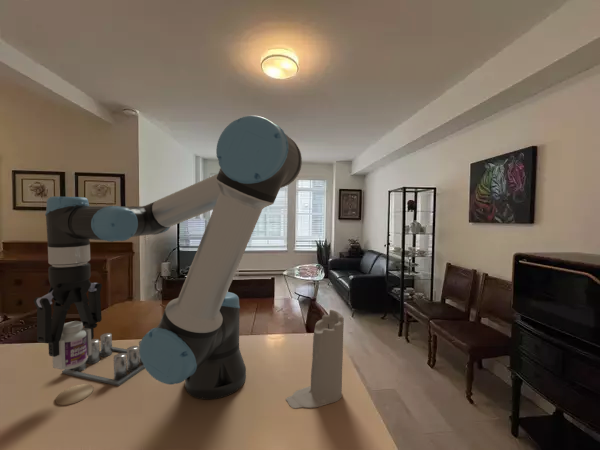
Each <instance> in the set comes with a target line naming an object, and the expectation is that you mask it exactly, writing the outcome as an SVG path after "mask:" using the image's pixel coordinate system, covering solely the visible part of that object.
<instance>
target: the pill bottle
mask: <svg viewBox="0 0 600 450" xmlns="http://www.w3.org/2000/svg"><path fill="white" fill-rule="evenodd" d="M83 327H84V326H83V322H81V320H74V321H68V322H66V323H64V327H63V331H62V335H61V339H62V340H65V368H64V369H63V370H65V369H72V368H75V367H78V366H80V365H82V364H83V363H85V362H86V360H87V358H88V356H87V334H86V331H85V330H83V329H82V328H83ZM86 363H87V362H86Z"/></svg>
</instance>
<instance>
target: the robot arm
mask: <svg viewBox="0 0 600 450" xmlns="http://www.w3.org/2000/svg"><path fill="white" fill-rule="evenodd" d="M215 155H216V158H217V159H218V160H217V161H218V166H219V167H220V168H219V171H218V173H217V174H214V175H212V176H208V177H207V178H205V179H203V180H200V181H198V182H196V183H193V184H192V185H189V186H187V187H185V188H182V189H180V190H178V191H175V192H173V193H171V194H169V195H166V196H164V197H162V198H159V199H157V200H155V201H153V202H151V203H148V204H146V205H142V206H141V205H137V206H134V205H133V206H122V205H121V206H119V205H102V206H101V205H100V206H99V205H91V206H90V203H89V199H88V198H87V197H84V196H83V197H82V196H50V197H48V198H47V200H46V211H45V220H46V238H47V239H46V240H47V259H48V261H47V262H48V264H49V265H50V266H49V267H48V269H47V270H48V282H49V285H50V286H49V287H50V288H49V290H48V292H47V293H46V294H45V295H43V296H41V297H39V296H38V297H37V296H36V297H35V298H34V299H33V303H34V305H35V307H36V342H39V343H44V344H48V346H47V347H48V355H49V356H50V357H52V369H53V368H54V369H57V370H61V371H63V370H65V369H64V368H65V340H62V339H61V335H62V331H63V327H64V324H65V322H66V318H67V314H68V311H69V310H70V308H71V306H72V305H75V307H76V310H77V313H78V315H79V319H80V321H81V322H83V328H82V329H83V330H85V331H86V334H87V357H88V356H90V355H91V354H92V345H91V340H93V339H94V337H95V335H94V332H95V331H94V329H95V328H97V326H98V323H101V322H102V301H101V291H102V287H103V284H102V283H99V282H91V280H90V278H91V276H92V273H91V263H90V261H91V241H90V240H93V241H95V240H96V241H105V242H106V241H107V242H111V243H112V242H123V241H127V240H129V239H131V238H134V237H142V236H149V235H151V236H152V235H153V236H156V235H159V234H163V233H165V232H167V231H169V229H170V228H171V227H173V226H175V225H178V224H180V223H183V222H185V221H188V220H190V219H192V218H196V217H198V216H200V215H202V214H205V213H207V212H208V213H209V212H210V211H212V212H211V214H210V217H209V219H208V222H207V223H206V224H207V225H206V227H205V230H204V232H203V235H202V237H201V240H200V242H199V245H198V247H197V250H196V253H195V254H194V257H193V260H192V262H191V264H190V267H189V270H188V271H187V275H186V276H185V277H186V278H185V280H184V282H183V284H182V287H181V290H180V292H179V294H178V297H176V298H174V299H171V300H170V301H169V302H168V303H167V304H166V306H165V309H164V311H163V314H162V317H161V319H160V321H159V324H158V325H157V326H156V327H153V328H151V329H150V330H149V331H148V332H146V334H144V336H143V337H142V338H141V340H140V341H141V343H140V349H139V351H140V358H141V361H142V363H143V364H144V367H145V368H144V370H145V371H147V372H148V374H149V375H150V376H151V378H153V379H155V380H156V381H158V382H159V383H162V384H165V385H176V384H180V383H183V382H184V386H185V390H186V392H187V393H188V394H189V395H190V396H192V397H194V398H196V399H200V400H201V399H202V400H214V399H215V400H216V399H219V398H220V399H221V398H224V397H227V396H229V395H232V394H233V393H235V392H236V391H238V390H240V389H241V387H242V386H244V385H245V382H246V378H247V367H246V365H245V362H244V359H243V358H244V357H243V356H242V352H241V349H240V310H241V306H240V297H239V296H238V295H237V294H236V293H234V292H230V291H229V289H230V286H231V284H232V282H233V280H234V277H235V275H236V272H237V271H238V267H239V266H240V263H241V260H242V259H243V256H244V254H245V251H246V249H247V247H248V244H249V242H250V239H251V237H252V235H253V233H254V230H255V228H256V226H257V223H258V221H259V218H260V217H261V214H262V211H263V209H264V208H266V207H269V206H272V205H274V203H275V202H276V198H277V197H278V194H279V191H280V189H282V188H285V187H287V186H289V185H291V183H293V182H294V181H295V180H296V179H297V177H298V176H299V174H300V172H301V169H302V165H303V164H302V162H303V159H302V153H301V150H300V148H299V146H298V145H297V143H296V142H295V141H294V140H293V139H292V137H290V136H288V134H286V133H285V131H284V130H283V129H282V127H280V126H279V125H278V124H275V123H274V122H272V121H271V120H269V119H268V118H265V117H262V116H259V115H245V116H242V117H239V118H238V119H237V118H236V119H235V120H233V121H232V122H230V123H229V124H227V126H226V127H225V128H224V129H223V131H222V132H221V134H220V136H219V138H218V140H217V143H216V154H215ZM53 301H54V302H53ZM52 304H53V305H52ZM52 309H53V310H52ZM52 311H53V312H52ZM143 364H142V365H143Z"/></svg>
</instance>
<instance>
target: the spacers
mask: <svg viewBox="0 0 600 450" xmlns="http://www.w3.org/2000/svg"><path fill="white" fill-rule="evenodd" d="M112 335H113V334H112V333H111V332H105V333H103V334H101V335H100V339H99V338H93V339H92V340H91V345H92V354H91V355H90V356H87V358H88V362H85V363H83V364H82V365H80V366H78V367H75V368H73V371H77V372H82V371H84V370H86V369H87V364H89V365H93V364H96V363H99V362H100V360H101V357H103V358H105V357H110V356H111V355H113V351H112V347H113V340H112V339H113V337H112ZM140 343H141V340H139V341H138V345H132V346H128V347H127V353H122V352H119V353H117V354H115V355H114V356H113V375H114V376H113V379H114V380H118V381H119V380H121V379H122V378H124V377H125V376H127V375H128V373H131V372H133V371H134V370H136V369H137V368H139V367H140V365H143V363H142V361H141V358H140V351H139V349H140ZM100 351H101V355H100Z"/></svg>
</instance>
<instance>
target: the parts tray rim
mask: <svg viewBox="0 0 600 450" xmlns="http://www.w3.org/2000/svg"><path fill="white" fill-rule="evenodd" d="M112 352H117V353H118V352H119V353H126V354H127V349H126V348H121V347H116V346H112ZM100 356H101V350H100ZM86 363H88V357H87V360H86ZM143 370H145V367H144V364H141V365H139V368H137V369H136V370H134V371H133V372H129V374H128V373H127V376H125V377H124V378H122V379H121V380H119V381H118V380H114V378H109V377H105V376H100V375H94V374H90V373H85V372H82V371H80V372H77V371H73V368H72V369H62V370H61V372H62V374H63V375H64V374H65V375H68V376H72V377H76V378H82V379H86V380H91V381H95V382H100V383H104V384H109V385H112V386H118V387H120V386H121V385H122V384H124V383H125V382H127V381H128V380H130V379H131V378H133V377H134V376H136V375H137V374H138V373H140V372H141V371H143Z"/></svg>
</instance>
